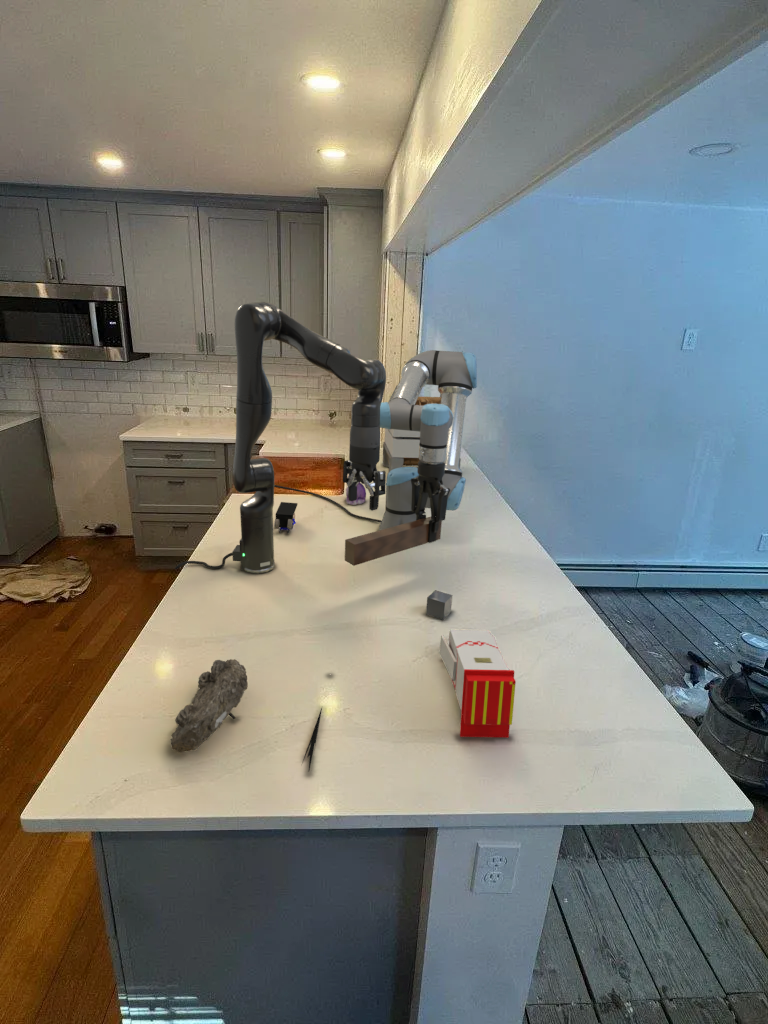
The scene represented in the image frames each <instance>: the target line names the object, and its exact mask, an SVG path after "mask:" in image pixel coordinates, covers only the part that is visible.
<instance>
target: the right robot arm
mask: <svg viewBox="0 0 768 1024" xmlns="http://www.w3.org/2000/svg"><path fill="white" fill-rule="evenodd" d="M477 366H478V365H477V357H476V354H474V353H473V352H467V351H463V350H462V351H454V350H453V351H451V350H436V349H429V350H425V351H421V352H419V353H417V354H416V355H414V356H413V357H411V358H410V359H408V360H407V361H406V363H405V364H404V366H403V367H402V370H401V372H400V373H401V377H400V380H399V382H398V384H397V385H398V386H397V385H396V386H397V388H396V387H395V388H396V390H395V389H394V390H395V392H394V391H393V392H394V394H393V393H392V394H393V396H392V395H391V396H392V397H391V396H390V398H391V399H390V398H389V400H390V401H389V400H388V401H384V402H381V406H380V429H385V428H386V429H396V430H409V431H419V432H420V444H419V460H420V461H419V462H418V466H417V467H416V466H403V467H401V468H396V469H393V470H391V471H390V472H389V471H388V473H387V475H386V483H385V504H384V505H385V507H384V508H385V509H384V513H383V515H382V519H376V518H371V517H367V516H362V515H358V514H354V513H352V512H350V510H349V509H347V508H346V507H345V506H343V505H342V504H340V503H338V502H336V501H335V500H333V499H331V498H329V497H327V496H324V495H323V494H322V495H321V494H318V493H315V492H312V491H307V490H303V489H298V488H292V487H287V486H283V485H278V484H274V488H278V489H282V490H287V491H292V492H298V493H303V494H307V495H311V496H314V497H318V498H321V499H324V500H326V501H328V502H331V503H333V504H334V505H336V506H337V507H338V508H341V510H343V511H345V513H346V514H348V515H350V516H351V517H354V518H356V519H361V520H366V521H370V522H375V523H379V526H378V531H379V530H383V529H387V528H390V527H394V526H398V525H401V524H405V523H409V522H412V521H416V520H420V519H423V518H427V515H426V514H427V512H426V509H430V517H431V520H430V521H429V531H428V543H427V544H431V543H434V542H436V541H437V540H436V535H437V532H438V529H439V522H440V521H442V522H443V521H445V520H446V516H447V511H451V512H452V511H453V512H454V511H457V510H458V509H459V508H460V505H461V502H462V499H463V495H464V493H465V492H464V491H465V486H466V481H467V479H466V478H465V476H463V471H462V470H461V468H460V469H459V467H458V466H459V458H461V454H460V449H461V450H462V443H461V441H462V440H463V439H462V438H463V431H464V424H465V423H464V422H465V416H466V415H465V414H466V406H467V399H468V397H469V396H470V395H472V393H473V389H476V388H477V387H478V376H477V375H478V369H477V368H478V367H477ZM427 385H429V386H437V391H438V393H439V395H440V394H441V395H442V396H441V404H426V405H424V406H423V405H415V403H416V401H417V399H418V397H420V395H421V392H422V389H423V388H424V387H426V386H427ZM388 402H389V403H388Z"/></svg>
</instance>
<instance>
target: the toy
mask: <svg viewBox="0 0 768 1024" xmlns="http://www.w3.org/2000/svg"><path fill="white" fill-rule="evenodd" d="M438 654H439V656H440V658H441V660H442V662H443V665H444V666H445V668H446V671H447V673H448V675H449V677H450V681H451V683H452V685H453V689H454V690H455V695H456V698H457V702H458V705H459V708H460V726H459V737H460V738H509V737H510V728H511V727H510V726H512V725H513V717H514V706H515V705H514V704H515V693H516V684H517V683H516V679H515V670H514V669H510V667H509V666H508V663H507V662H506V660H505V658H504V655H503V654H502V652H501V650H500V648H499V644H498V642H497V638H496V635H495V634H492V632H491V631H490V629H467V628H466V629H465V628H463V629H461V628H460V629H459V628H450V629H449V631H448V641H447V639H446V638H445V636H444V634H443V635H442V634H441V635H440V641H439V651H438Z"/></svg>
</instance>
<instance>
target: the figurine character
mask: <svg viewBox="0 0 768 1024" xmlns="http://www.w3.org/2000/svg"><path fill="white" fill-rule="evenodd" d="M297 507H298V502H287V501H285V502H284V501H281V502H280V504H279V506H278V508H277V510H276V512H275V519H274V521H273V530H274V529H275V530H278V533H279V534H281V533H282V531H286V534H289V533H290V530H292V529H293V527H294V526H295V525H296V524H297V521H296V513H295V512H296V510H297Z"/></svg>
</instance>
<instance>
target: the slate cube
mask: <svg viewBox="0 0 768 1024" xmlns="http://www.w3.org/2000/svg"><path fill="white" fill-rule="evenodd" d="M452 605H453V594H449V593H447V592H443V591H440V590H437V589H436V590H434V591H433V592H431V593H430V594H429V595H428V596H427V597H426V609H425V615H427V616H430V617H432V618H435V619H439V620H442V621H443V620H445V619H446V618H447V617H448V615H450V613H452Z"/></svg>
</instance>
